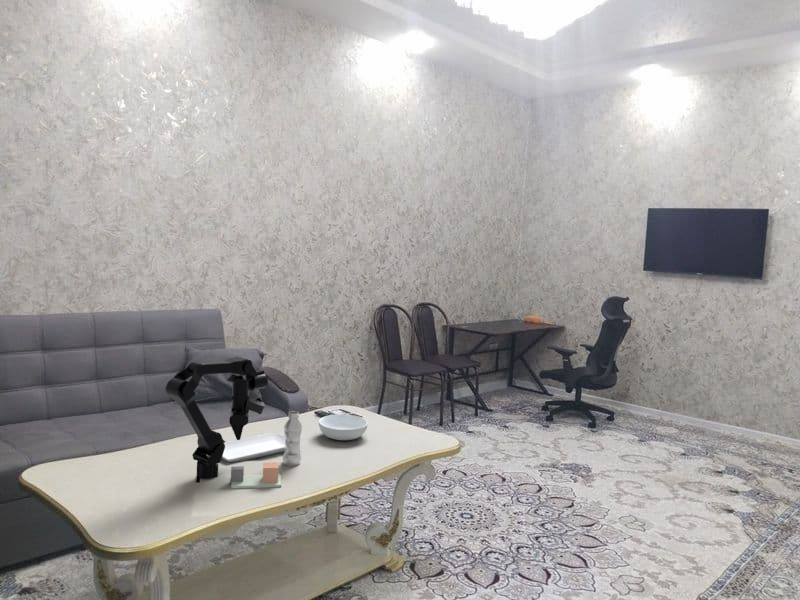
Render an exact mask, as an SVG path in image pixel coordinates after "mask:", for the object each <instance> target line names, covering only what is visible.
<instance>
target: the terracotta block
mask: <svg viewBox="0 0 800 600" xmlns="http://www.w3.org/2000/svg"><path fill="white" fill-rule="evenodd" d="M279 469H280V468H279V462H277V461H276V462H263V463H262V475H263V483H273V482H278V474H279Z"/></svg>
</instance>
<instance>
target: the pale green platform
mask: <svg viewBox="0 0 800 600" xmlns="http://www.w3.org/2000/svg"><path fill="white" fill-rule="evenodd" d="M244 472H245V466H244V465H242V466H231V467H230V483H231V484H230V490H231V489H256V488H257V489H261V488H263V489H264V488H281V487H282V476H281V474H280V473H278V482H273V483H263V474H246V475H245V474H244Z"/></svg>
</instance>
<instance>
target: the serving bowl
mask: <svg viewBox="0 0 800 600" xmlns="http://www.w3.org/2000/svg"><path fill="white" fill-rule="evenodd" d="M368 425H369V423H368V420H367V419H366V418H363V417H361V416H358V415H354V414H330V415H326V416H323V417H321V418H320V419H319V420H318V427H319V430H320V432H321V433H322V434H323V435H324V436H325V437H327V438H328V439H329V438H330V439H332V440H337V441H351V440H352V441H353V440H355V439H356V440H357V439H359V438H360V437H362V436H363V435H364V434H365V432H366V431H367V429H368Z"/></svg>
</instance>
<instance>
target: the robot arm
mask: <svg viewBox="0 0 800 600" xmlns="http://www.w3.org/2000/svg"><path fill="white" fill-rule="evenodd" d="M229 373H230V374H231V376H229V377H228V378H227V382H230V383H232V385H231V386H232V387H231V388H232V390H231V408H230V409H231V410H230V411H231V412H230V415H229V421H228V422H229V425H230V428H231V429H232V431H233V434H234V436H235V438H236V440H240V439H242V434H243V430H244V427H245V426H247V425H248V424H249V412H250V411H251V412H254V413H256V414H258V415H262V414H263V411H264V409H265V407H266V406H265V403H264V401H262V397H261V396H257V397H255V398H250V391H257V390H261V389H265V388H266V387H268V383H269V380H268V377H267V376H266V374H265V370H263V369H258V370H256V369H255V367H254V365H253V362H252V360H251V359H250V358H244V357H242V356H232V357H230V358H228V359H226V360H221V361H220V360H219V361H217V360H216V361H202V362H197V361H193V362H190V363H189V364H188V365H187V366H186V367H185V368H184V369H182V370H180V371H179V372H177V373H176V374H175V375H174V376H173V377H172V378H171V379H170V380H168V381H167V384H166V386H165V392H166V394H167V395H168V396H169V397H170V398H171V400H173V401H174V402H175V403H177V405H179V406H180V407H181V409H182V411H183V413H184V415H185V417H186V418H187V420H188V422H189V423H190V425H191V428H192V429H193V431H194V433H195V434H196V435H197V442H196V443H197V446H198V447H196V449H195V450H194V451H193V453H192V459H193V460H194V461H197V462H196V478H195V483H200V482H201V480H211V479H215V478H218V477H219V466H220V465H219V464H220V463H221V461H222V459H223V458H222V456H223V453H224V449H225V444H224V443H225V442H226V440H224V439H223V436H222V434H221V433H220V432H218V431H216V430H212V429H211V427H210V426H209V424H208V422H207V419H206V418H205V417H204V415H203V413H202V411H201V409H200V406H199V405H198V404H197V402H196V391H195V390H196V389H197V388H198V386H199V384H200V382H201V379H202V377H203V376H204V375H217V374H229ZM190 377H191V378H190ZM189 378H190V379H189ZM187 380H188V381H187Z"/></svg>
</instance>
